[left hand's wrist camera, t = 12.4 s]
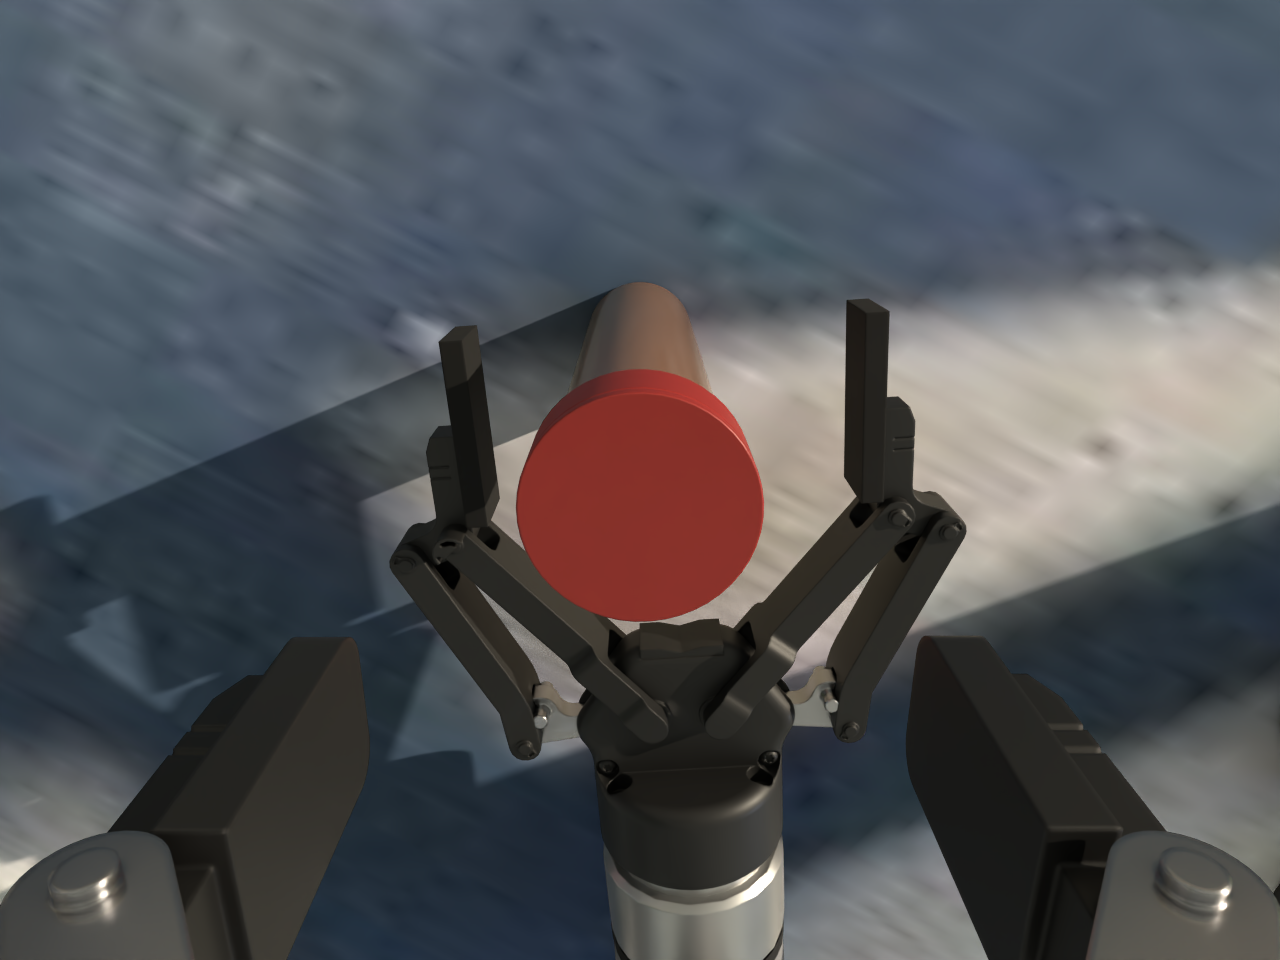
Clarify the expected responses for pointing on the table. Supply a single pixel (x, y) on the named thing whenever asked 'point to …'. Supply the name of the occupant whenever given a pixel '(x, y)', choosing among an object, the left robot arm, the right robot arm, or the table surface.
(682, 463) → the lid
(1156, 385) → the table surface
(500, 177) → the table surface
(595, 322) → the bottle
